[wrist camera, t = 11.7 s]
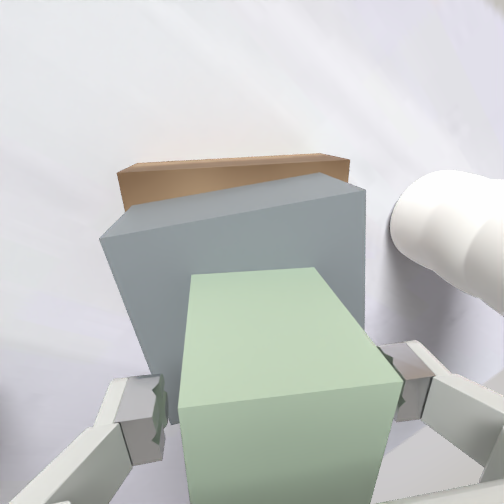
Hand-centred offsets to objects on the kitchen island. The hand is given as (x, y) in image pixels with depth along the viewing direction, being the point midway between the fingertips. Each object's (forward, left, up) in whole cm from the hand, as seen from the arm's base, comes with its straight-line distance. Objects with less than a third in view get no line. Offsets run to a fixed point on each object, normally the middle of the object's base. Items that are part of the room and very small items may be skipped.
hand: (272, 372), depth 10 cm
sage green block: (0, 0, -3) cm, 3 cm away
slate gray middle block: (0, 0, -8) cm, 8 cm away
